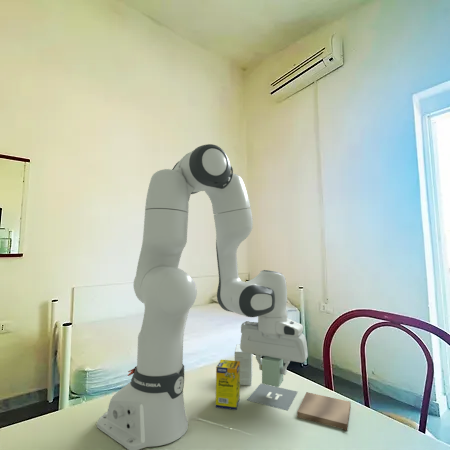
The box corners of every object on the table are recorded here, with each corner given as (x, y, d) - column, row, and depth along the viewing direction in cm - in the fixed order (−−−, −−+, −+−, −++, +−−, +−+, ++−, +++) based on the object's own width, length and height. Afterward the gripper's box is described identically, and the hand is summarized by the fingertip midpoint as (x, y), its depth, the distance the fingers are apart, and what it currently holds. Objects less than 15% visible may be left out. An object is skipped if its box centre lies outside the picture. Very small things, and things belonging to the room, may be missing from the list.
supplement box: (236, 410, 80) (237, 368, 81) (215, 408, 81) (215, 366, 82) (240, 399, 85) (240, 360, 86) (219, 397, 87) (220, 359, 88)
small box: (236, 374, 103) (236, 343, 103) (252, 375, 102) (252, 344, 103) (233, 385, 95) (234, 351, 96) (251, 386, 94) (251, 352, 95)
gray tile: (246, 400, 85) (246, 399, 85) (260, 384, 96) (260, 383, 96) (287, 411, 80) (287, 410, 80) (297, 392, 90) (297, 391, 90)
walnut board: (297, 417, 76) (297, 411, 77) (306, 397, 87) (306, 392, 87) (347, 430, 71) (347, 424, 71) (350, 407, 82) (350, 401, 82)
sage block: (262, 383, 87) (262, 358, 87) (267, 377, 91) (267, 353, 92) (278, 387, 85) (278, 361, 85) (283, 380, 89) (283, 356, 90)
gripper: (237, 322, 91) (236, 368, 90) (304, 331, 82) (304, 383, 81) (244, 318, 97) (244, 362, 96) (308, 326, 88) (309, 374, 86)
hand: (272, 371), depth 88 cm, fingers closed on sage block, 5 cm apart
